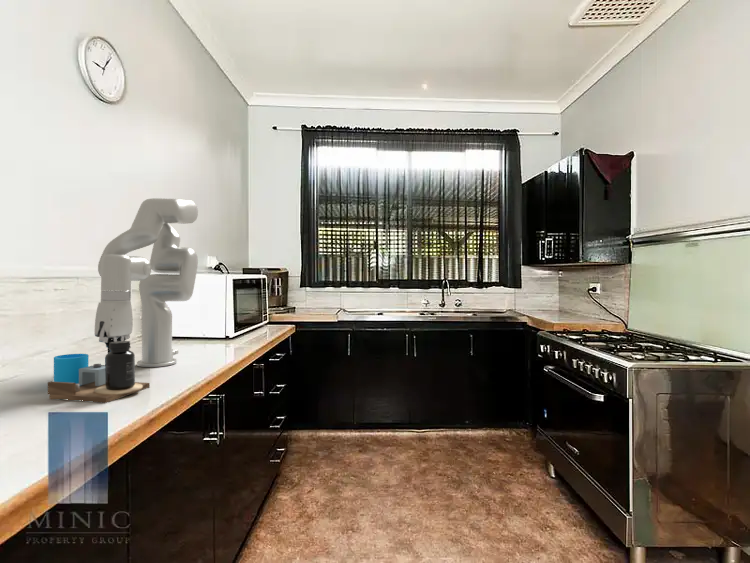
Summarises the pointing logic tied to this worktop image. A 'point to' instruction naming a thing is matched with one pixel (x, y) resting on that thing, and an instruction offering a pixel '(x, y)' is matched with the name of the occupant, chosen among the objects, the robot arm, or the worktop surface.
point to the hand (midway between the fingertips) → (114, 361)
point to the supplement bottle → (119, 366)
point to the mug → (69, 367)
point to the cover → (92, 375)
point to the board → (90, 391)
